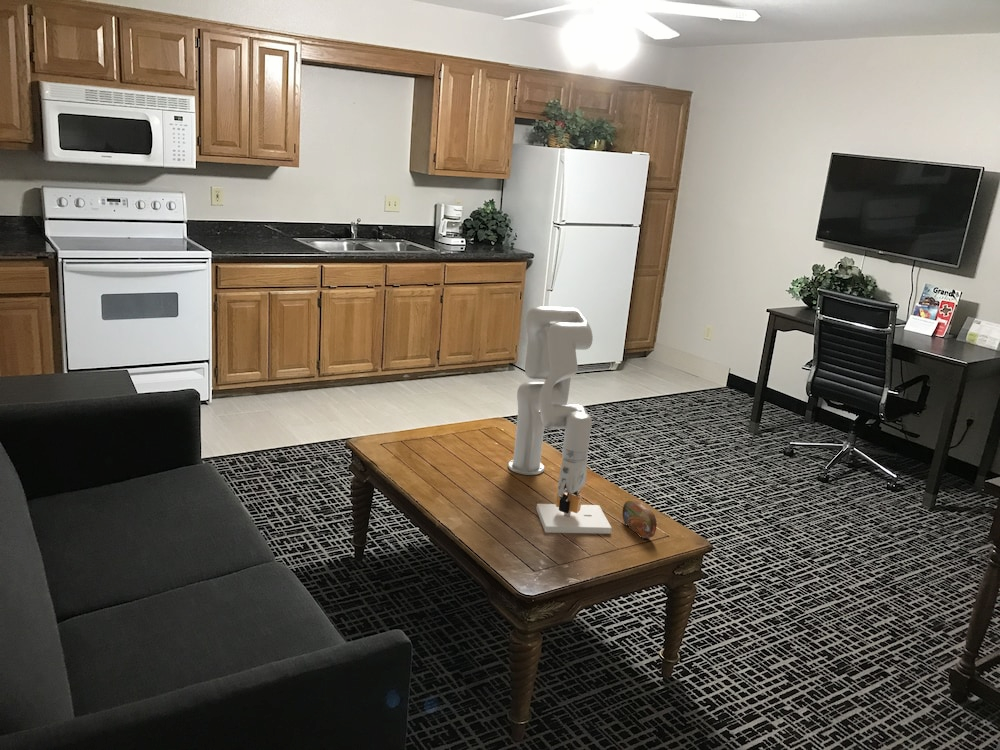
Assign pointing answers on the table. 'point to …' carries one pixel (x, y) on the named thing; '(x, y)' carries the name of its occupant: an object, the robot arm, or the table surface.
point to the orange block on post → (572, 502)
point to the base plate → (573, 520)
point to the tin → (639, 519)
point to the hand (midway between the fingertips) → (567, 508)
